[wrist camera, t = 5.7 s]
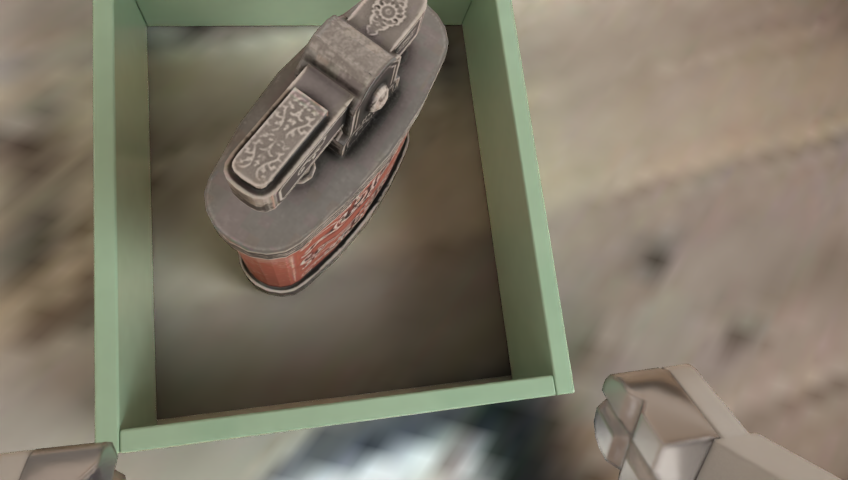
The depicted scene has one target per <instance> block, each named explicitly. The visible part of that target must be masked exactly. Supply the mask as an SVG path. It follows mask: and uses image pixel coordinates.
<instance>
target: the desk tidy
mask: <svg viewBox="0 0 848 480" xmlns="http://www.w3.org/2000/svg"><path fill="white" fill-rule="evenodd" d="M360 1H361V0H93V188H94V384H95V443H98V442H113V445H114V447H115V450H116V452H117V454H119V453H131V452H138V451H146V450H153V449H160V448H168V447H175V446H183V445H190V444H198V443H205V442H212V441H220V440H227V439H235V438H242V437H250V436H257V435H265V434H272V433H279V432H287V431H294V430H302V429H309V428H317V427H324V426H331V425H339V424H346V423H354V422H361V421H369V420H376V419H383V418H391V417H398V416H406V415H413V414H421V413H428V412H436V411H443V410H450V409H458V408H465V407H473V406H480V405H488V404H495V403H502V402H510V401H517V400H525V399H532V398H540V397H547V396H554V395H562V394H569V393H573V392H574V385H573V379H572V372H571V366H570V360H569V354H568V348H567V341H566V335H565V329H564V323H563V317H562V310H561V304H560V298H559V292H558V286H557V279H556V273H555V267H554V261H553V255H552V248H551V242H550V236H549V230H548V224H547V217H546V211H545V205H544V199H543V193H542V186H541V180H540V174H539V168H538V162H537V155H536V149H535V143H534V137H533V131H532V124H531V118H530V112H529V106H528V100H527V93H526V87H525V81H524V75H523V69H522V62H521V56H520V50H519V44H518V38H517V31H516V25H515V19H514V13H513V7H512V0H427V5H428V6H429V7H430V8H431V9H432V10H433V11H434V12H436V13H437V14H438V16H439V18H440V19H441V21H442V23H443V25H461V24H462V27H463V34H464V41H465V48H466V56H467V63H468V70H469V77H470V84H471V91H472V98H473V105H474V112H475V119H476V126H477V133H478V140H479V147H480V154H481V161H482V168H483V176H484V183H485V190H486V197H487V204H488V211H489V218H490V225H491V232H492V239H493V246H494V253H495V260H496V267H497V274H498V281H499V289H500V296H501V303H502V310H503V317H504V324H505V331H506V338H507V345H508V352H509V359H510V366H511V373H512V375H510V376H502V377H494V378H486V379H478V380H470V381H462V382H454V383H446V384H438V385H430V386H422V387H414V388H406V389H398V390H390V391H382V392H374V393H366V394H358V395H350V396H342V397H334V398H326V399H318V400H310V401H302V402H294V403H286V404H278V405H270V406H263V407H255V408H247V409H239V410H231V411H223V412H215V413H207V414H199V415H191V416H183V417H175V418H167V419H159V420H157V414H156V374H155V334H154V294H153V254H152V214H151V174H150V135H149V95H148V55H147V26H321V25H322V24H323V23H324V22H325V21H326V20H327V19H328V18H330V17H331V16H332V15H337V16H340V15H343V14H344V13H345V12H346V11H348V10H349V9H350V8H352V7H353V6H354V5H356V4H357V3H358V2H360Z"/></svg>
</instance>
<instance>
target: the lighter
mask: <svg viewBox="0 0 848 480" xmlns="http://www.w3.org/2000/svg"><path fill="white" fill-rule="evenodd" d="M448 43H449V42H448V37H447V32H446V28H445V26H444V25H443V23H442V21H441V19H440V18H439V16H438V14H437V13H436V12H434V11H433V10H432V9H431V8H430V7H429V6H428V5H427V0H361V1H360V2H358V3H357V4H356V5H354V6H353V7H352V8H350V9H349V10H348V11H346V12H345V13H344V14H343V15H340V16H337V15H332V16H331V17H330V18H328V19H327V20H326V21H325V22H324V23H323V24H322V25H321V27H320V28H319V29H318V30H317V31H316V32H315V33H314V35H313V36H312V38H311V39H310V41H309V42H308V44H307V45H306V46H305V47H304V48H303V49H302V50H301V51H300V52H299V53H298V54H297V55H296V56H295V57H294V58H293V59H292V60H291V61H290V62H289V63H288V64H286V65H285V66H284V67H283V68H282V69H281V70H280V71H279V72H278V74H277V75H276V76H275V77H274V79H273V80H272V81H271V83H270V84H269V85H268V87H267V88H266V89H265V91H264V92H263V93H262V95H261V96H260V97H259V99H258V100H257V101H256V103H255V104H254V105H253V107H252V108H251V109H250V111H249V112H248V113H247V115H246V116H245V117H244V119H243V120H242V121H241V123H240V124H239V126H238V128H237V129H236V131H235V133H234V135H233V136H232V138H231V140H230V142H229V143H228V145H227V147H226V149H225V150H224V152H223V154H222V156H221V157H220V159H219V161H218V163H217V164H216V166H215V168H214V170H213V171H212V173H211V175H210V177H209V179H208V182H207V185H206V189H205V192H204V198H205V207H206V212H207V214H208V216H209V218H210V220H211V222H212V224H213V226H214V228H215V229H216V231H217V232H218V234H219V235H220V236H221V237H222V238H223V239H224V240H225V241H226V242H227V243H228V244H229V245H230V246H231V247H232V248H233V249H235V250H237V251H238V254H239V263H240V265H241V267H242V269H243V271H244V273H245V275H246V277H247V278H248V280H249V281H250V282H252V283H253V284H254V285H255V286H256V287H257V288H258V289H260V290H262V291H264V292H266V293H268V294H270V295H277V296H288V295H294V294H296V293H298V292H299V291H301V290H303V289H305V288H306V287H307V286H308V285H309V284H310V283H311V282H312V281H313V280H314V279H316V278H317V277H318V276H319V275H320V274H321V273H322V272H323V271H324V270H325V269H327V268H328V267H329V266H330V265H331V264H332V263H333V262H334V261H335V260H337V258H338V257H339V256H340V255H341V254H342V253H343V251H344V250H345V249H346V248H347V247H348V246H349V245H350V243H351V242H352V241H353V240H354V239H355V238H356V237H357V235H358V234H359V233H360V232H361V231H362V230H363V228H364V227H365V226H366V225H367V223H368V221H369V220H370V218H371V217H372V215H373V214H374V212H375V210H376V209H377V207H378V206H379V204H380V203H381V201H382V199H383V198H384V196H385V195H386V193H387V192H388V190H389V188H390V186H391V183H392V181H393V179H394V177H395V175H396V173H397V171H398V169H399V167H400V164H401V162H402V160H403V158H404V156H405V153H406V151H407V149H408V144H409V140H410V137H409V129H410V127H411V126H412V124H413V123H414V121H415V120H416V118H417V117H418V115H419V113H420V111H421V109H422V106H423V104H424V102H425V100H426V98H427V96H428V94H429V92H430V90H431V88H432V86H433V83H434V81H435V79H436V77H437V75H438V73H439V71H440V69H441V66H442V64H443V61H444V59H445V56H446V53H447V48H448Z"/></svg>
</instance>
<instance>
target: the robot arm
mask: <svg viewBox="0 0 848 480" xmlns="http://www.w3.org/2000/svg"><path fill="white" fill-rule="evenodd" d="M602 391H603V393H604V394H605V396H606V398H607V399H605V400H604V401H603V402H602V403H601V404H600V405H599V406H598V407H597V410H596V414H595V418H594V428H595V437H596V440H597V443H598V446H599V448H600V450H601V452H602V454H603V456H604V458H605V460H606V461H607V462H609V463H610V464H612V465H613V466H615V467H616V468H618V469H619V470H620V472H619V478H618V480H842V479H840V478H838V477H837V476H835V475H833V474H831V473H829V472H828V471H826V470H824V469H822V468H820V467H818V466H817V465H815V464H813V463H811V462H809V461H808V460H806V459H804V458H802V457H800V456H799V455H797V454H795V453H793V452H791V451H789V450H788V449H786V448H784V447H782V446H780V445H779V444H777V443H775V442H773V441H771V440H769V439H768V438H766V437H764V436H762V435H760V434H759V433H751V434H749V432H748V431H747V430H746V429H745V428H744V426H743V425H742V424H741V423H740V422H739V420H738V419H737V418H736V417H735V416H734V414H733V413H732V412H731V411H730V409H729V408H728V407H727V406H726V405H725V403H724V402H723V401H722V400H721V399H720V397H719V396H718V395H717V394H716V393H715V391H714V390H713V389H712V388H711V386H710V385H709V384H708V383H707V382H706V380H705V379H704V378H703V377H702V376H701V374H700V373H699V372H698V371H697V370H696V369H695V368H694V367H693V366H691V365H689V364H683V365H676V366H669V367H662V368H652V369H645V370H638V371H631V372H624V373H617V374H610V375H609V376H608V377H607V378H606V379H605V382H604V385H603V388H602ZM117 459H118V455H117V452H116V450H115V447H114V445H113V442H98V443H89V444H79V445H70V446H61V447H51V448H42V449H35V450H27V451H19V452H10V453H1V454H0V480H126V477H125V475H124V474H122V473H120V472H118V471H117V470H115V467H116V463H117Z"/></svg>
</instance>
